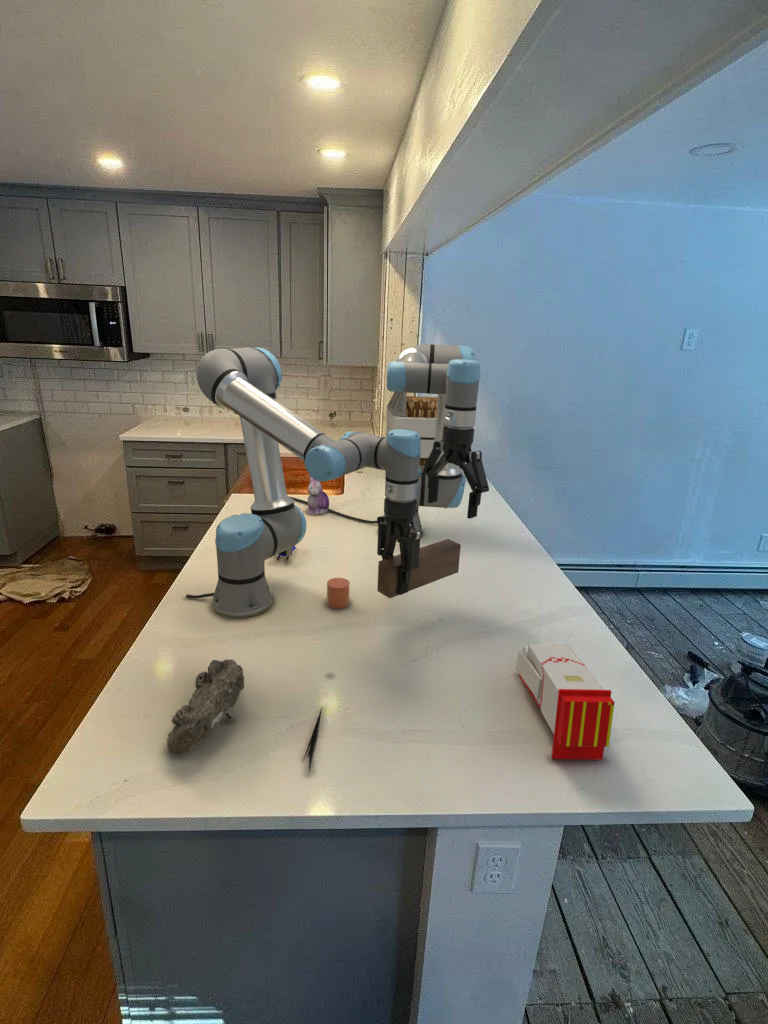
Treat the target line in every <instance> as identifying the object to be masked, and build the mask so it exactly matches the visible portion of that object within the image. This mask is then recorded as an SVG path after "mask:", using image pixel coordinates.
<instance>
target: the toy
mask: <svg viewBox="0 0 768 1024" xmlns="http://www.w3.org/2000/svg"><path fill="white" fill-rule="evenodd" d="M521 649H522V650H520V649H518V651H517V658H516V664H515V670H516V671H517V672H518V677H519V678H520V680H521V681H522V683H523V685H524V686H525V688H526V689H527V691H528V692H529V694H530V695H531V698H533V700H534V702H535V703H536V705H537V707H538V708H539V709H540V712H541V714H542V716H543V718H544V719H545V721H546V723H547V725H548V727H549V728H550V730H551V732H552V735H553V738H552V739H553V741H552V750H551V759H552V760H597V761H598V760H604V754H605V753H604V752H605V748H609V747H610V742H611V734H612V726H613V725H612V724H613V718H614V710H615V701H614V700H613V698H612V690H611V689H605V688H604V687H603V686H602V684H601V683H600V682H599V681H598V679H597V678H596V677H595V676H594V674H593V673H592V672H591V670H590V669H589V668H588V667H587V665H586V664H585V663H584V662H583V660H582V659H581V658H580V657H579V656H578V654H577V653H576V652H575V650H574V649H573V648H572V647H571V646H570V644H548V643H547V644H545V643H544V644H543V643H541V644H540V643H528V644H522V648H521Z"/></svg>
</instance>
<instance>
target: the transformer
mask: <svg viewBox="0 0 768 1024" xmlns="http://www.w3.org/2000/svg"><path fill="white" fill-rule="evenodd" d="M407 394H408V393H404V392H402V393H398V392H393V394H392V395H391V398H390V400H389V402H388V404H387V405H386V413H385V414H386V415H385V423H386V428H385V437H387V435H388V432H389V431H391V430H396V429H403V430H412V431H415V432H417V433H418V434H419V435H420V438H421V443H420V450H421V454H420V462H419V467H424V466H425V464H426V462H427V460H428V458H429V456H430V454H431V452H432V449H433V444H434V438H435V425H436V412H437V399H438V396H415V395H414V396H413V395H412V396H411V395H407ZM459 468H460V467H459ZM460 469H461V468H460ZM461 470H462V469H461Z"/></svg>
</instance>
